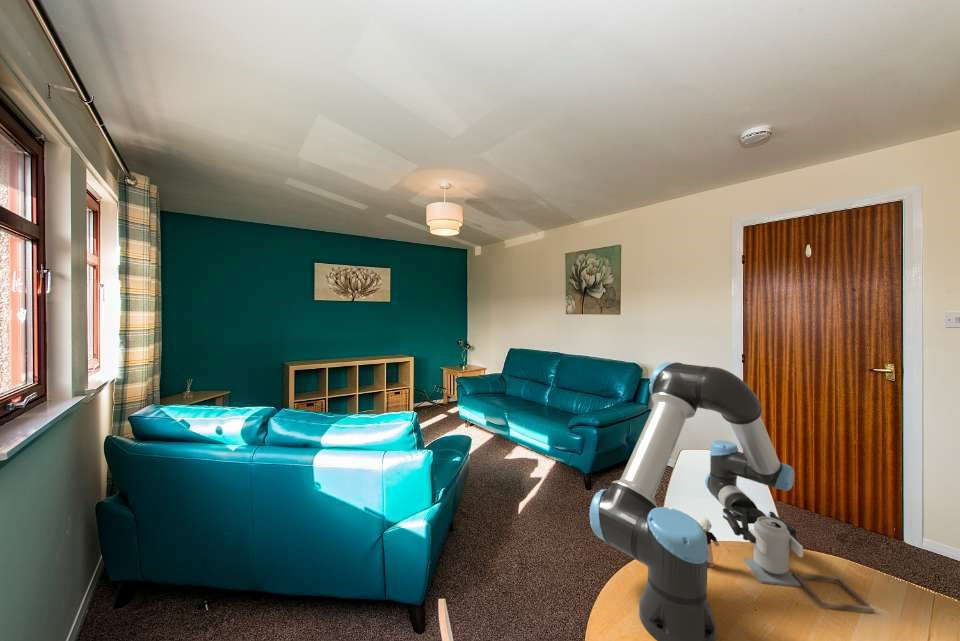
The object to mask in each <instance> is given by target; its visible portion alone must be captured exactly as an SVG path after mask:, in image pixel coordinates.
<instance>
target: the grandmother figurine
mask: <svg viewBox="0 0 960 641" xmlns="http://www.w3.org/2000/svg"><path fill="white" fill-rule="evenodd" d="M697 522H698V523H699V524H700V525H701V526H702V528H703V530H704V532H705V533H706V536H707V547H708V554H709V555H708V564H707V567H709V568H714V567H715V566H714V558H713V556H714V555H713V550H712V548H713V547H712V543H714V546H715V547H717V548H718V547H719V546H720V544H719V542H718V539H717V538H716V536H715V535H714V534H713V533H712V532H711V531H710V530H711V529H712V524H711V521H710V520H709V519H708V518H707V517H700V518H698V520H697Z"/></svg>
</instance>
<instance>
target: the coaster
mask: <svg viewBox="0 0 960 641" xmlns="http://www.w3.org/2000/svg"><path fill="white" fill-rule="evenodd" d="M742 560H743V562H744V563H745V564H746V565H747V568H748V569H749V570H750V571H751V572H752V573H753V575H754V576H755V577H756V579H757V580H758V581H759V582H760V583H761V584H765V585H766V584H767V585H779V586H786V587H787V586H788V587H789V586H790V587H797V588H798V587H799V588H800V587H801V584H800V583H799V582H798V581H797V580H796V579H795V577H794V576H793V575H792V573H791V572H790V570H789V571H788V572H786V573H784V574H773V573H770V572H767V571H765V570H763V569H762V568H760V567H759V566H758V564H757V563H756V562H755V561H754V558H748V557H743V559H742ZM801 588H802V587H801Z"/></svg>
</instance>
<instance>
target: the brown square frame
mask: <svg viewBox="0 0 960 641" xmlns="http://www.w3.org/2000/svg"><path fill="white" fill-rule="evenodd" d="M791 574H792V575H793V576H794V577H795V579H796V580H797V581H798V582H799V583H800V584H801V588H802V589H803V590H804V591H805V593H806V594H808V595H809V597H811V599H812V600H813V601H814V602H815V603H816V604H817V605H818V606H819V607H820V608H821V609H828V610H837V611H838V610H839V611H848V612H856V613H857V612H858V613H867V614H868V613H869V614H875V612H874V611H875V608H874V607H872V606H871V605H870V604H869V603H868V602H867V601H866V600H864V598H862V597H861V596H860V595H859V594H858V593H857V592H856V591H855V590H854V589H853V588H852V587H850V586H849V585H848V584H847V583H846V582H845V581H844V580H843V579H842V578H841V577H839V576H833V575H821V574H812V573H811V574H810V573H798V572H792V573H791ZM805 580H807V581H813V582H814V581H817V582H827V583H836V584H838V585H839V586H840V587H842V588H843V589H844V590H845V591H846V592H847V593H848V594H849V595H850V596H851V597H852V598H853V600H855V601H856V602H857V603H858V604H850V603H839V602H833V601H832V602H831V601H823V600H822V599H821V598H820V597H819V596H818V595H817V594H816V593H815V592H814V590H812V588H811V587H810V586H809V585H808V584H807V583H806V582H805Z"/></svg>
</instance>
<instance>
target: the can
mask: <svg viewBox="0 0 960 641" xmlns="http://www.w3.org/2000/svg"><path fill="white" fill-rule="evenodd" d="M753 530H754V531H755V532H756V533H757V534H758V535H759V536H760V537H761V539H762V540H763V541H764V542H765V543H766V554H762V552H761V551H760V550H759V549H758V548H757V547H756V546H755V544H754V543H753V559H754V561H755V562H756V563H757V564H758V566H759V567H760V568H762V569H763V570H765V571H767V572H770V573H773V574H784V573H786V572H788V571H789V572H790V547H789V543H790V532H789V531H788V530H787V526H786V525H785V524H784V523H783V522H781V521H780V520H777V519H775V518H771V517H763V516H762V517H759V518H757V521H756V522H755V523H754V524H753Z"/></svg>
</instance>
